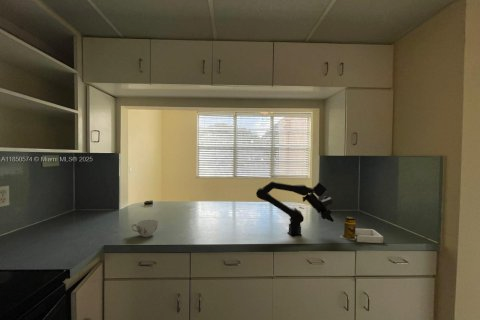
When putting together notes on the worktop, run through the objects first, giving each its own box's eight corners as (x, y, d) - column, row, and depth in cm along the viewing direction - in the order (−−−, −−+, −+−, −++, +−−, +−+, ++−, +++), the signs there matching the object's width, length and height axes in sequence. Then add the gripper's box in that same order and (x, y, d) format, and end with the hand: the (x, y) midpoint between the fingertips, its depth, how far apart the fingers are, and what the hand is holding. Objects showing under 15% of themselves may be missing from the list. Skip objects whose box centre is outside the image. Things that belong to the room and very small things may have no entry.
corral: (357, 241, 144) (357, 235, 144) (349, 233, 158) (350, 228, 158) (382, 243, 142) (383, 236, 142) (373, 235, 156) (373, 229, 156)
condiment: (354, 240, 146) (355, 219, 145) (339, 237, 150) (339, 217, 150) (356, 237, 152) (357, 217, 151) (341, 234, 156) (342, 214, 156)
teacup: (160, 232, 156) (160, 219, 155) (155, 239, 143) (155, 225, 143) (135, 232, 155) (135, 219, 154) (127, 239, 142) (127, 225, 142)
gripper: (328, 195, 143) (348, 216, 142) (321, 190, 161) (339, 208, 160) (313, 208, 144) (333, 229, 143) (308, 202, 162) (326, 220, 162)
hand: (333, 221), depth 152 cm, fingers closed
